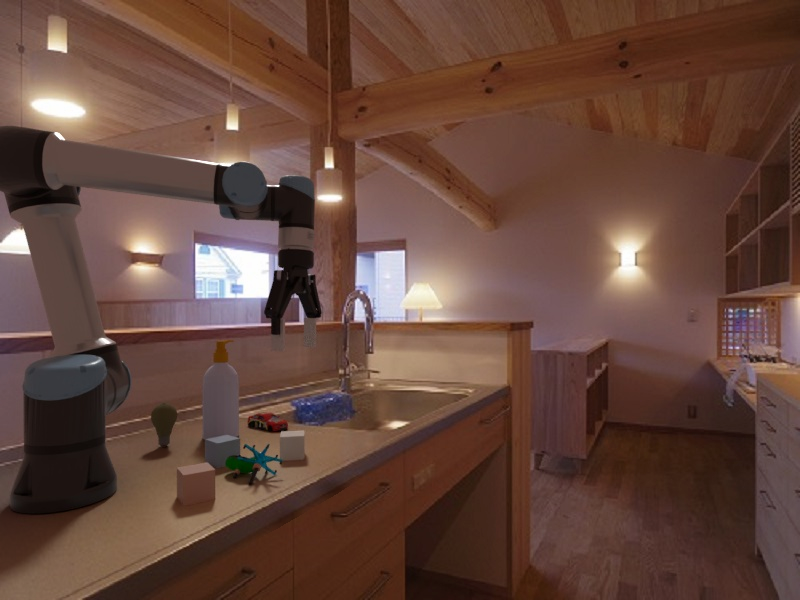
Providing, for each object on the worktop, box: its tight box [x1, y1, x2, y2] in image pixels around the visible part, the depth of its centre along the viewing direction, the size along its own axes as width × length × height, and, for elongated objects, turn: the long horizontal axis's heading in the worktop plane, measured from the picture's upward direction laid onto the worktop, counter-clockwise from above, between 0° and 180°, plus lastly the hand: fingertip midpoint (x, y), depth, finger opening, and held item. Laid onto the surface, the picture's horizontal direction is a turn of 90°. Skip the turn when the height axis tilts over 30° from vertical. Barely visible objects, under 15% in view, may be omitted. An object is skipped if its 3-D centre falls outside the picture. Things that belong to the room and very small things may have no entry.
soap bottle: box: [201, 339, 240, 440], centre depth 128 cm, size 9×9×24 cm
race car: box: [247, 411, 289, 433], centre depth 137 cm, size 13×5×4 cm, turn 51°
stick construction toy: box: [225, 443, 284, 486], centre depth 96 cm, size 12×7×8 cm
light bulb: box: [150, 402, 178, 448], centre depth 119 cm, size 6×6×10 cm
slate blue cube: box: [204, 435, 241, 469], centre depth 106 cm, size 5×5×5 cm
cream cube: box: [279, 430, 306, 462], centre depth 110 cm, size 5×5×5 cm
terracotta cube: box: [176, 462, 216, 507], centre depth 86 cm, size 5×5×5 cm
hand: (294, 349), depth 110 cm, fingers open, 13 cm apart
